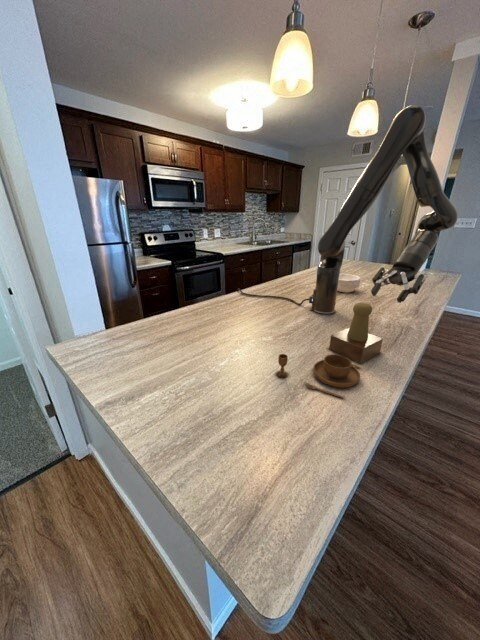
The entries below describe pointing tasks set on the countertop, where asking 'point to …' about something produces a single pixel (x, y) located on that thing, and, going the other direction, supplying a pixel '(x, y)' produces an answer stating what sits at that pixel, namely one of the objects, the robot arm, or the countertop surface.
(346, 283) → the paper bowls
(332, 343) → the walnut block
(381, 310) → the countertop surface
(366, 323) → the cork
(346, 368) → the place setting
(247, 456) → the countertop surface
